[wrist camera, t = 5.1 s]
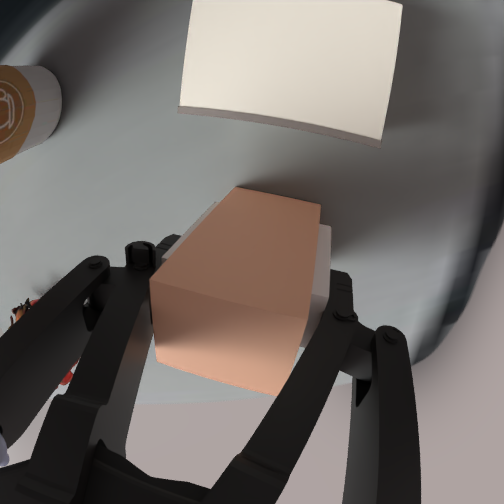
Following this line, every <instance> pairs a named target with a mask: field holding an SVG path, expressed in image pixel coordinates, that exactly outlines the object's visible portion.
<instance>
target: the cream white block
mask: <svg viewBox="0 0 504 504" xmlns="http://www.w3.org/2000/svg"><path fill="white" fill-rule="evenodd" d="M402 6H403V5H402V4H398V3H395V2H392V1H388V0H193V3H192V9H191V16H190V22H189V29H188V36H187V44H186V52H185V60H184V68H183V78H182V87H181V97H180V106H178V113H179V114H191V115H201V116H211V117H220V118H228V119H236V120H243V121H250V122H257V123H263V124H269V125H275V126H281V127H287V128H292V129H298V130H303V131H308V132H313V133H318V134H322V135H327V136H331V137H336V138H340V139H345V140H349V141H353V142H357V143H361V144H365V145H369V146H373V147H376V148H381V144H382V141H381V137H382V132H383V127H384V122H385V118H386V113H387V107H388V102H389V97H390V91H391V86H392V80H393V74H394V68H395V61H396V55H397V48H398V40H399V33H400V24H401V15H402Z"/></svg>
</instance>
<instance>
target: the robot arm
mask: <svg viewBox="0 0 504 504" xmlns="http://www.w3.org/2000/svg"><path fill="white" fill-rule="evenodd" d="M218 204H219V202H215V203H214V204H213V205H212V206H211V207H210V208H209V209H208V210H207V211H206V212H205V213H204V214H203V215H202V216H201V217H200V218H199V219H198V220H197V221H196V222H195V223H194V224H193V225H192V226H191V227H190V228H189V229H188V230H187V231H186V232H185V233H184V234H183V235H182V236H180V235H175V234H172V235H170V236H168V237H165V238H164V239H163V240H162V241H161V242H160V244H158V245H157V246H156V247H155V246H154V244H152V243H150V242H146V241H137V242H132V243H130V244H128V245H127V246H126V247H125V254H126V266H125V267H110V263H109V260H108V259H107V258H106V257H104V256H91V257H88V258H86V259H85V260H83V261H82V262H81V263H80V264H79V265H77V266H76V267H75V268H74V269H73V270H72V271H70V272H69V273H68V274H67V275H66V276H65V277H64V278H62V279H61V280H60V281H59V282H58V283H57V284H56V285H55V286H53V287H52V288H51V289H50V290H49V291H48V292H47V293H46V294H45V295H44V296H43V297H41V298H40V299H39V300H38V301H37V302H36V303H35V304H34V305H33V306H32V307H31V308H30V309H29V310H28V311H27V312H26V313H25V314H24V315H22V316H21V317H20V318H19V319H18V320H17V321H16V322H15V323H14V324H13V325H12V326H11V327H10V328H9V329H8V330H7V331H6V332H5V333H4V334H3V335H2V336H1V337H0V466H6V465H7V464H8V462H9V456H8V454H7V449H8V448H9V447H10V446H11V445H13V443H15V442H16V440H18V439H19V438H20V437H21V435H22V434H23V433H24V432H25V430H26V429H27V428H28V426H29V425H30V423H31V422H32V421H33V419H34V418H35V416H36V415H37V414H38V412H39V411H40V409H41V408H42V407H43V405H44V404H45V403H46V401H47V400H48V399H49V397H50V396H51V394H52V393H53V392H54V390H55V389H56V388H57V386H58V385H59V384H60V382H61V381H62V380H63V378H64V377H65V376H66V375H67V373H68V372H69V371H70V369H71V368H72V367H73V365H74V364H75V363H76V362H77V360H78V359H79V358H80V356H81V355H82V356H81V358H80V360H79V363H78V365H77V367H76V370H75V372H74V374H73V377H72V379H71V381H70V384H69V386H68V389H67V391H66V393H65V394H64V395H61V394H57V395H56V396H55V397H54V398H53V400H52V402H51V405H50V407H49V409H48V412H47V414H46V417H45V420H44V422H43V425H42V427H41V430H40V433H39V436H38V439H37V441H36V444H35V447H34V450H33V453H32V456H31V459H29V460H26V461H22V462H19V463H16V464H13V465H9V466H6V467H2V468H0V504H275V503H276V501H277V500H278V498H279V496H280V494H281V493H282V491H283V489H284V487H285V485H286V483H287V481H288V479H289V476H290V474H291V472H292V470H293V468H294V466H295V464H296V463H297V461H298V459H299V457H300V455H301V453H302V451H303V449H304V447H305V445H306V443H307V441H308V439H309V437H310V435H311V433H312V431H313V429H314V426H315V425H316V422H317V420H318V418H319V416H320V414H321V412H322V409H323V407H324V405H325V402H326V401H327V398H328V396H329V394H330V391H331V389H332V387H333V384H334V382H335V380H336V377H337V375H338V372H339V370H340V371H342V372H344V373H346V374H349V375H351V376H353V378H352V402H351V403H352V404H351V421H350V435H349V447H348V458H347V468H346V477H345V485H344V493H343V501H342V504H421V467H420V447H419V433H418V422H417V411H416V402H415V393H414V386H413V378H412V371H411V365H410V358H409V352H408V346H407V341H406V338H405V335H404V334H403V333H402V332H401V331H400V330H398V329H397V328H395V327H392V326H386V325H384V326H380V327H378V328H377V329H376V331H374V330H372V329H369V328H367V327H365V326H364V325H362V324H361V323H360V322H359V321H358V316H357V314H356V313H355V312H354V310H353V293H352V292H353V290H352V279H351V278H350V276H349V275H348V273H345V272H341V271H337V270H332V269H330V260H331V226H327V225H323V224H319V232H318V242H317V251H316V260H315V269H314V277H313V285H312V293H311V301H310V308H309V315H308V321H307V324H306V327H305V331H304V334H303V337H302V340H301V343H300V347H305V350H304V352H303V353H302V355H301V357H300V359H299V360H298V362H297V364H296V366H295V367H294V369H293V371H292V373H291V374H290V376H289V378H288V379H287V381H286V383H285V384H284V386H283V388H282V389H281V391H280V393H279V394H278V396H277V398H276V399H275V401H274V403H273V404H272V406H271V407H270V409H269V410H268V412H267V414H266V415H265V417H264V418H263V420H262V422H261V423H260V425H259V426H258V428H257V429H256V431H255V432H254V434H253V435H252V437H251V438H250V440H249V441H248V443H247V445H246V446H245V447H244V449H243V450H242V452H241V453H239V454H237V455H236V456H235V457H234V458H233V460H232V461H231V462H230V464H229V465H228V467H227V468H226V469H225V471H224V472H223V473H222V475H221V476H220V478H219V479H218V480H217V482H216V483H215V484H214V486H213V487H212V488H211V489H208V488H206V487H202V486H199V485H196V484H192V483H190V482H184V481H175V480H168V479H161V478H154V477H150V476H149V475H147V474H146V473H144V472H143V471H141V470H140V469H139V468H137V467H136V466H135V465H133V464H132V463H131V462H129V461H128V460H127V459H126V452H125V444H126V438H127V434H128V430H129V425H130V421H131V417H132V412H133V408H134V404H135V400H136V396H137V392H138V388H139V384H140V380H141V376H142V373H143V369H144V365H145V361H146V358H147V354H148V350H149V347H150V343H151V340H152V336H153V333H154V330H153V320H152V309H151V296H150V281H149V279H150V278H151V277H152V276H153V275H154V274H155V272H156V271H157V270H158V269H159V268H160V267H161V266H162V265H163V263H164V262H165V261H166V260H167V259H168V258H169V257H170V256H171V255H172V253H173V252H174V251H175V250H176V249H177V248H178V247H179V246H180V245H181V244H182V243H183V241H184V240H185V239H186V238H187V237H188V236H189V235H190V234H191V233H192V232H193V231H194V230H195V228H196V227H197V226H198V225H199V224H200V223H201V222H202V221H203V220H204V219H205V218H206V217H207V216H208V215H209V214H210V213H211V211H212V210H213V209H214V208H215V207H216V206H217V205H218ZM86 299H87V301H88V302H87V303H86V304H85V305H84V304H83V303H84V302H85V300H86Z"/></svg>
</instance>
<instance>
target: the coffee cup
mask: <svg viewBox="0 0 504 504" xmlns="http://www.w3.org/2000/svg"><path fill="white" fill-rule="evenodd" d="M61 109H62V95H61V88H60V85H59V82H58V80H57V79H56V77H55V75H54V74H53V73H51V72H50V71H49V70H47V69H46V68H44V67H41V66H8V65H0V164H1V163H3V162H5V161H7V160H9V159H11V158H13V157H14V156H15V155H17V154H19V153H21V152H23V151H26V150H28V149H30V148H32V147H34V146H37V145H39V144H41V143H43V142H44V141H45V140H46V139H47V138H48V137H49V135H51V134H52V132H53V131H54V129H55V128H56V126H57V124H58V121H59V119H60V114H61Z"/></svg>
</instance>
